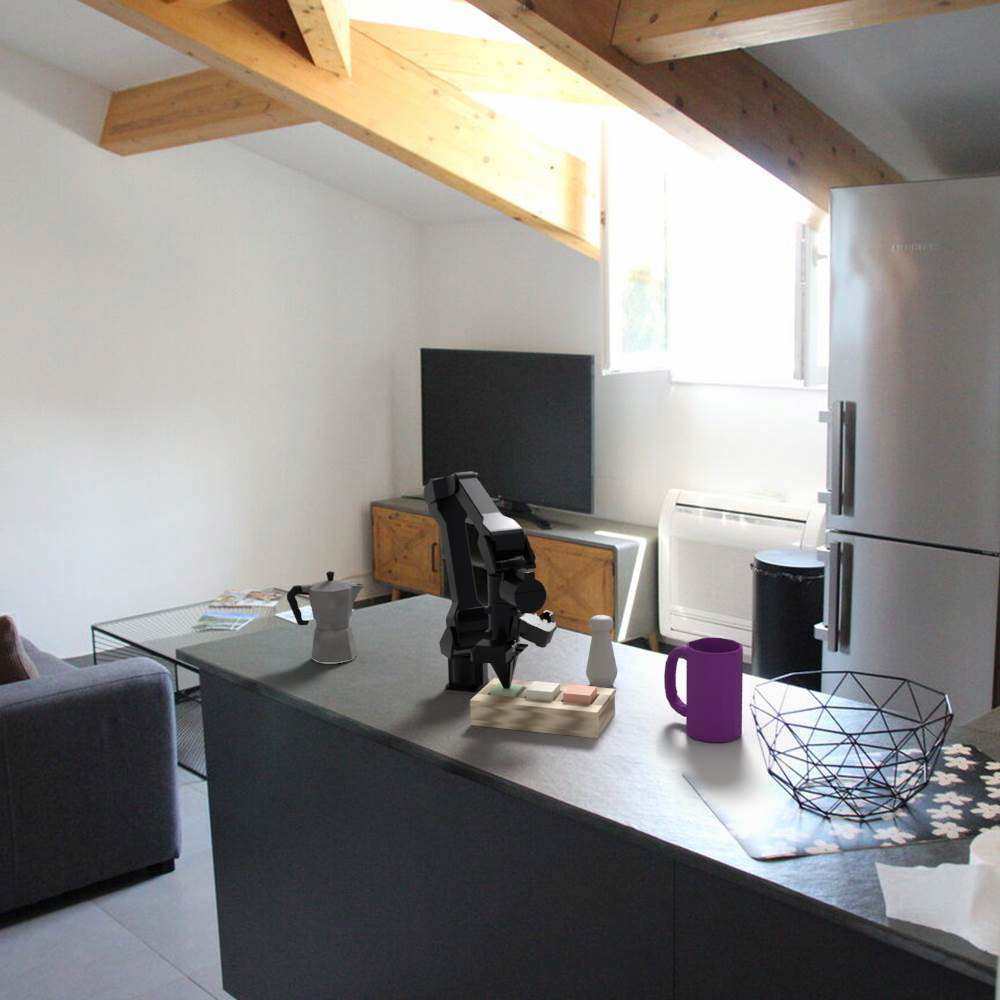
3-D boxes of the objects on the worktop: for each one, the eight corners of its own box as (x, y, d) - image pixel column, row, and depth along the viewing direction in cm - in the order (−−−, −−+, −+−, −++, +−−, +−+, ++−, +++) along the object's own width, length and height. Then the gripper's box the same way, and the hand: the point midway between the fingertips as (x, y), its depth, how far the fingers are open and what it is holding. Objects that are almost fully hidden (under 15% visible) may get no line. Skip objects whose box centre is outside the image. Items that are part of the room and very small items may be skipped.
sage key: (490, 710, 198) (489, 691, 197) (499, 701, 202) (498, 682, 201) (515, 712, 196) (515, 693, 196) (524, 703, 200) (524, 684, 200)
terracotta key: (563, 712, 193) (563, 693, 193) (571, 703, 197) (570, 684, 197) (590, 715, 192) (589, 695, 191) (597, 705, 196) (597, 686, 195)
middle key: (526, 708, 195) (526, 689, 195) (534, 700, 200) (534, 681, 199) (552, 711, 194) (552, 692, 193) (560, 702, 198) (560, 683, 198)
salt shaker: (615, 690, 211) (615, 621, 208) (584, 689, 212) (583, 620, 210) (619, 680, 216) (618, 612, 214) (588, 679, 217) (587, 611, 215)
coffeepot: (364, 648, 240) (360, 564, 237) (369, 662, 231) (365, 574, 228) (289, 655, 237) (284, 569, 234) (291, 669, 228) (286, 580, 225)
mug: (715, 748, 182) (715, 657, 180) (646, 721, 195) (646, 635, 192) (754, 734, 188) (755, 645, 185) (685, 709, 200) (685, 625, 198)
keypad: (470, 725, 195) (470, 700, 194) (494, 701, 206) (494, 677, 206) (597, 738, 188) (597, 712, 187) (615, 713, 199) (615, 688, 198)
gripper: (533, 617, 185) (535, 710, 187) (566, 589, 202) (567, 675, 205) (468, 612, 188) (470, 704, 191) (505, 585, 206) (507, 669, 208)
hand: (506, 687), depth 199 cm, fingers closed, pressing on sage key
